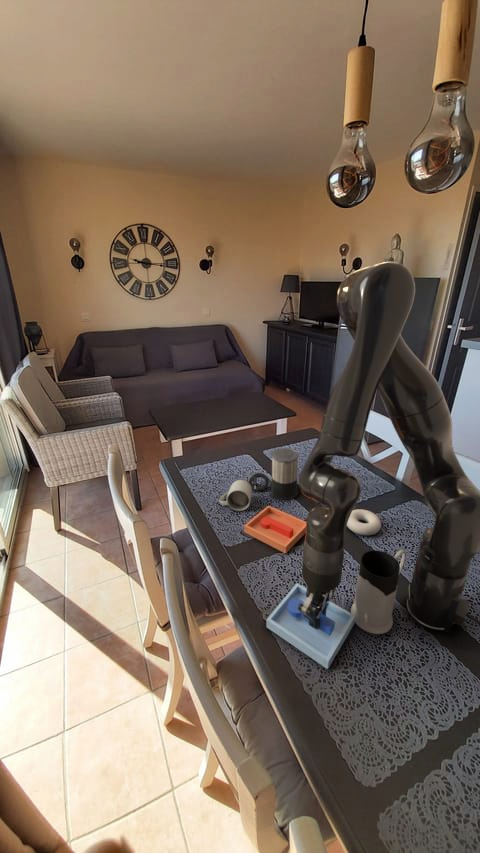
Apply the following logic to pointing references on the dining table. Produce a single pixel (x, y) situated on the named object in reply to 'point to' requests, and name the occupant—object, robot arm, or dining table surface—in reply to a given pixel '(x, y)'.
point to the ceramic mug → (238, 496)
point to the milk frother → (280, 474)
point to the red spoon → (276, 526)
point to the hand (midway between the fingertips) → (317, 621)
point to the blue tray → (311, 629)
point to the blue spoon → (325, 622)
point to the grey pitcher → (376, 590)
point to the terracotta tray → (272, 536)
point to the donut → (363, 528)
